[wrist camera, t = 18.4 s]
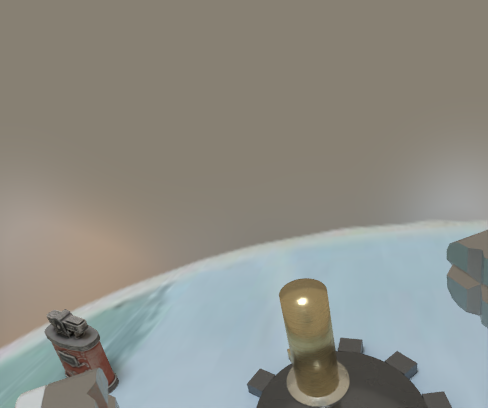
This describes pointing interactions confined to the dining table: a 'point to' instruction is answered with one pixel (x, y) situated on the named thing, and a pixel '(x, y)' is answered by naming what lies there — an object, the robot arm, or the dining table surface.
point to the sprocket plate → (350, 384)
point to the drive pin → (310, 336)
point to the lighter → (78, 346)
